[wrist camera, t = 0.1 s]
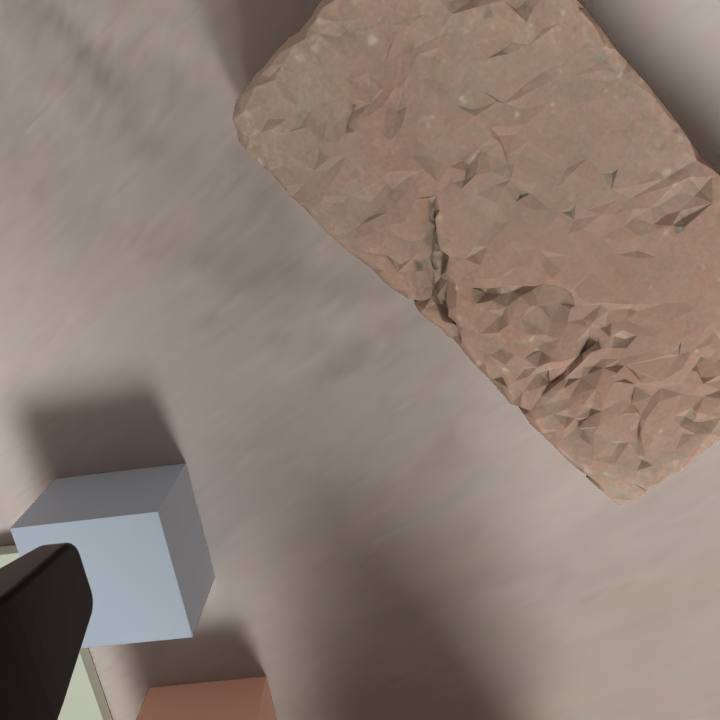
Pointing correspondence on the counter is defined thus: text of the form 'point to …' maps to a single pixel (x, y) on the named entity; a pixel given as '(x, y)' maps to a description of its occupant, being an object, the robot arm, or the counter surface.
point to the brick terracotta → (210, 701)
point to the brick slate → (129, 549)
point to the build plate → (75, 675)
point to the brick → (515, 210)
